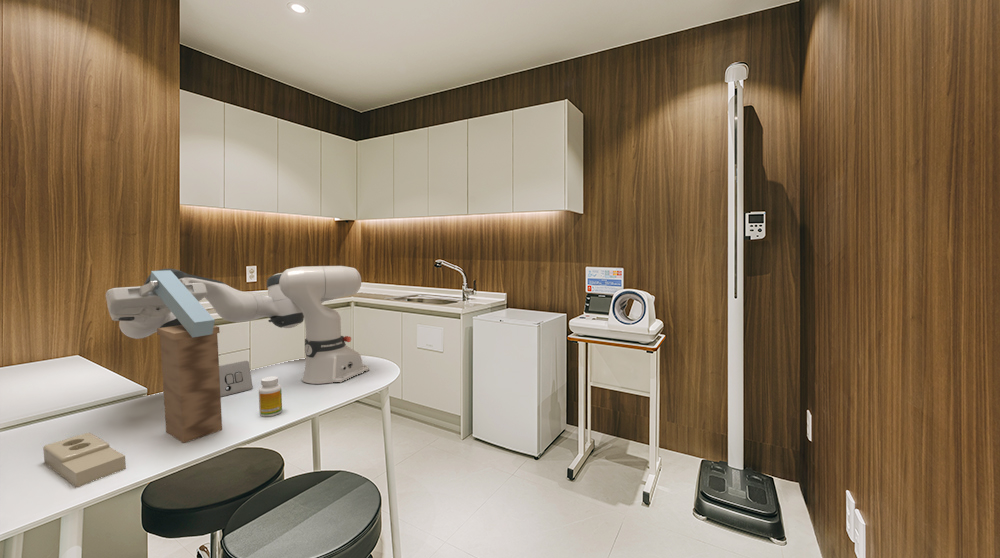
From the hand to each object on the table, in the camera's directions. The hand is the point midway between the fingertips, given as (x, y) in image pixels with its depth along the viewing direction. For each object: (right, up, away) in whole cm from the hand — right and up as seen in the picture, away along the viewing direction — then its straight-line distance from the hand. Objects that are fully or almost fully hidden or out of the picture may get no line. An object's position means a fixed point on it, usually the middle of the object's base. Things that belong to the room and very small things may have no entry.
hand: (168, 282), depth 100 cm
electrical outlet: (-3, -39, -18) cm, 43 cm away
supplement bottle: (+21, -36, +9) cm, 43 cm away
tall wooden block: (+8, -37, -2) cm, 38 cm away
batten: (+5, -6, -3) cm, 8 cm away
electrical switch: (0, -35, +24) cm, 42 cm away
